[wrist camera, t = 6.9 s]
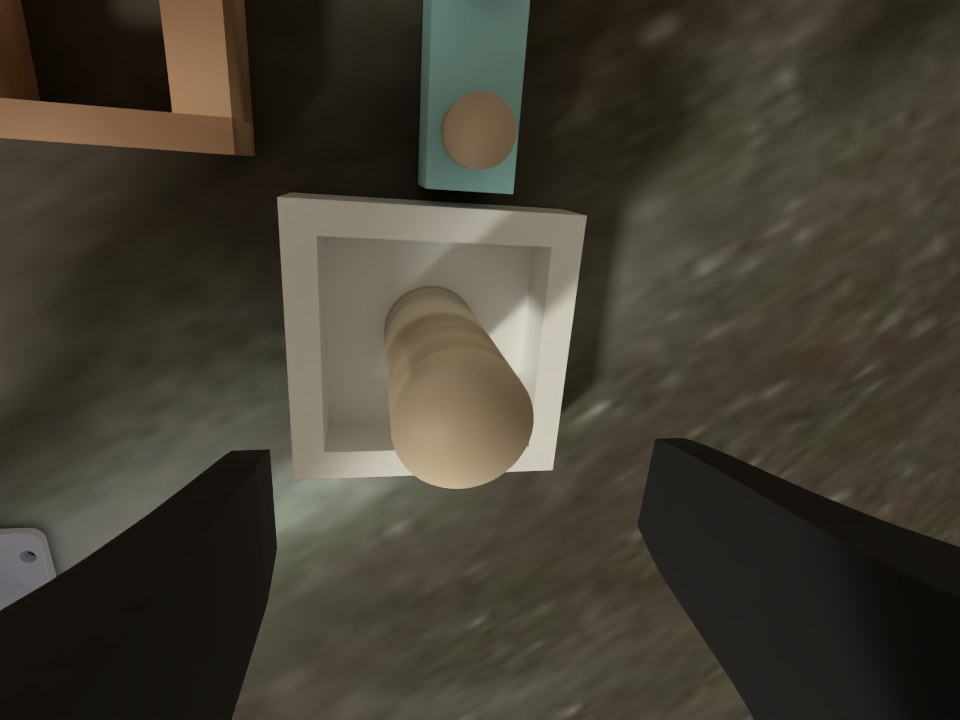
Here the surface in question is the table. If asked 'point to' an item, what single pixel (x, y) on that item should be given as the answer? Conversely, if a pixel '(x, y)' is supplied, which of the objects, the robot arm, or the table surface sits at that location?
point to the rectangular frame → (190, 127)
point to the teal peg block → (471, 93)
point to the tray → (390, 274)
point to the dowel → (451, 393)
